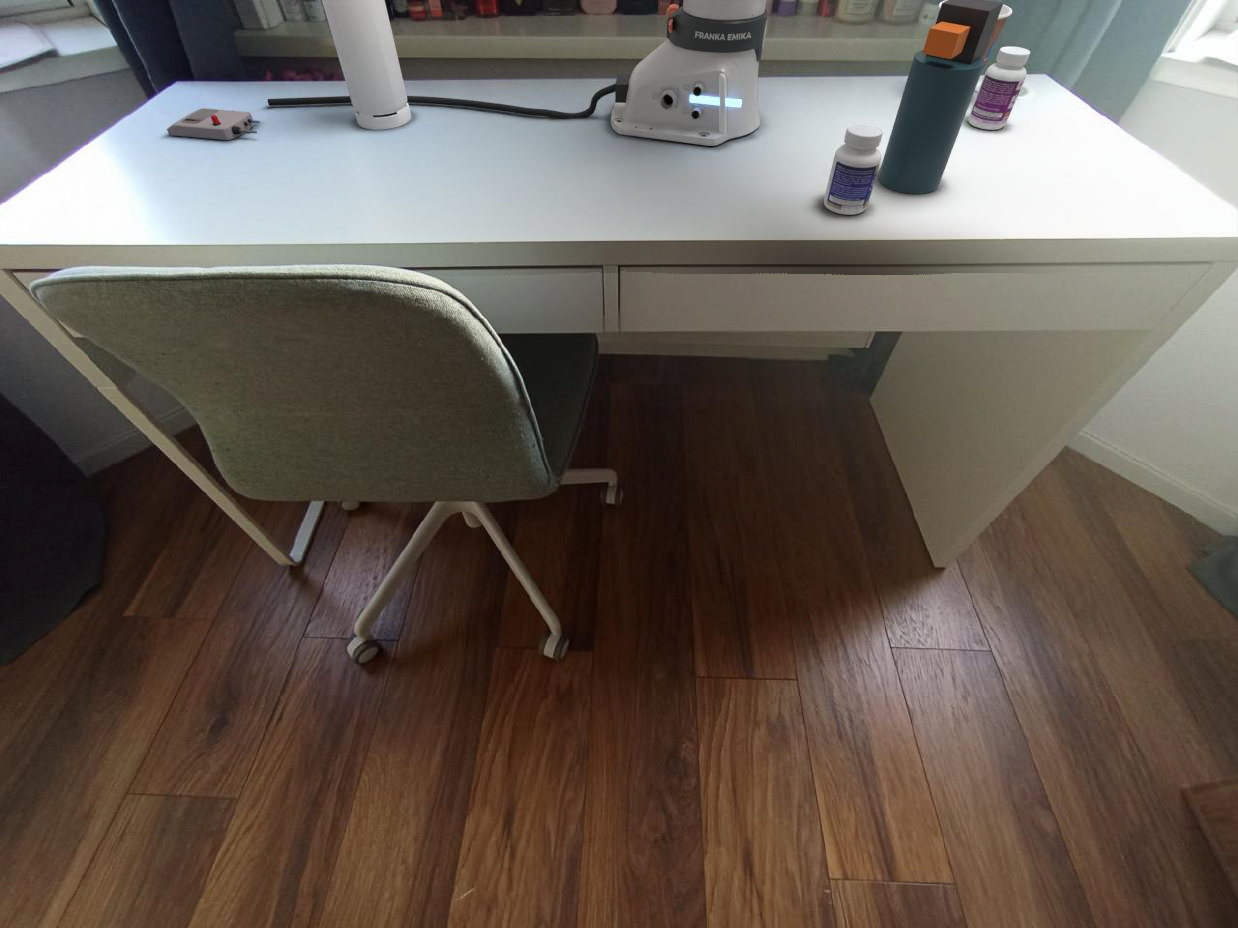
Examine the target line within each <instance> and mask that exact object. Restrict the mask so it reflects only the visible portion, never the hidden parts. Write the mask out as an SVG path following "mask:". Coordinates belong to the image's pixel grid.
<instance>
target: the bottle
mask: <svg viewBox="0 0 1238 928" xmlns="http://www.w3.org/2000/svg"><path fill="white" fill-rule="evenodd" d="M321 3H322V6H323V9H324V13H325V16H326V20H327V22H328V27H329V30H330V33H331V37H332V40H333V43H334V47H335V50H336V53H337V57H338V60H339V61H338V62H339V64H340V67H341V71H342V74H343V78H344V81H345V84H346V89H347V91H348V94H349V95H348V96H350V98H351V102H352V103H351V105H352V107H353V112H354V115H355V119H356V122H357V124H358V126H360V127H361V128H364V129H366V130H374V131H376V130H378V131H380V130H391V129H396V128H398V127H402V126H404V125H406V124H408V123H409V122H410V121H411V120H412V113H411V108H410V105H409V103H407V96H408V94H407V91H406V88H405V87H406V86H405V81H404V78H403V73H402V69H401V66H400V60H399V57H398V52H397V47H396V44H395V39H394V34H393V31H392V25H391V22H390V17H389V13H388V8H387V5H386V0H321ZM395 113H396V114H395ZM390 114H392V115H390ZM383 115H387V116H383ZM374 116H375V117H374Z"/></svg>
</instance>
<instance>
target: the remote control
mask: <svg viewBox="0 0 1238 928" xmlns="http://www.w3.org/2000/svg"><path fill="white" fill-rule="evenodd" d="M255 123H256V124H260V123H261V122H260V120H255V119H253V115H252V114H251V112H250V111H239V110H227V109H218V108H216V109H215V108H204V107H202V108H198V109H195V110H194V111H193V112H191V113H189V114H187V115H185V116H183V117H182V118H180V119H178V120H177V121H175V122H174V123H172V124H171V125H170V126H169V127H167V128H166V131H167V133H168V135H169V136H174V137H176V136H177V137H187V138H188V137H189V138H198V139H211V140H221V141H232V140H234V139H236V138H238V137H240V136H241V135H243V134H258V131H257V130H250V129H252V128H253V127H254V126H255Z"/></svg>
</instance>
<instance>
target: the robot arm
mask: <svg viewBox="0 0 1238 928" xmlns="http://www.w3.org/2000/svg"><path fill="white" fill-rule="evenodd" d="M766 4H767V0H682V6H680V5H678V4H676V3H672V4H670V5H668V8H667V9H666V13H665V19H666V39H665V41H664V42H662V43H661V44H660V45H659V46H657V47H656V48H655V49H654V50H653V51H651V52H650V53H649V54H648V55H647V56H646V57H644V58H643V59H642V60H640V61H639V62H638V64H637V65H635V67H634V69H633V70H632V72H631V74H627V73H626V74H625V73H623V74H622V73H618V74H617V75H616V79H615V83H613V84H611V85H608V86H605V87H603V88H601V89H599V90H598V91H596V92H595V93H594V94H593V95H592V97H591V100H590V104H589V106H588V108H587V109H585V110H583V111H580V112H564V111H557V110H552V109H545V108H533V107H524V106H517V105H511V104H503V103H496V102H488V101H481V100H480V101H479V100H473V99H463V98H452V97H441V96H440V97H438V96H423V95H407V103H408V104H423V105H425V104H426V105H427V104H428V105H441V106H452V107H463V108H464V107H465V108H474V109H480V110H481V109H482V110H489V111H498V112H506V113H511V114H517V115H523V116H533V117H546V118H552V119H557V120H559V119H560V120H571V119H572V120H573V119H586V118H589V117H591V116H592V115H594V113H595V111H596V110H597V105H598V102H599V100H601V98H604V97H605V96H608V95H610V94H613V93H614V97H615V98H614V99H615V101H614V103H615V104H614V105H613V107H612V110H611V114H610V115H611V116H610V126H611V128H612V130H614V131H615V133H617V134H619V135H622V136H623V135H624V136H631V137H639V138H647V139H654V140H662V141H670V142H678V143H685V144H693V145H699V146H708V147H714V146H718V145H720V144H723V143H725V142H726V141H728V140H732V139H736V138H740V137H744V136H746V135H749V134H751V133H753V132H754V131H756V130H757V129H758V128H760V124H761V118H760V109H759V68H760V67H759V66H760V61H761V59H762V54H763V53H764V47H765V41H766V34H767V27H768V11H767V9H766ZM267 104H268V106H269V107H278V106H279V107H280V106H281V107H282V106H283V107H284V106H307V105H308V106H309V105H311V106H312V105H335V104H336V105H337V104H352V102H351V98H350V95H340V96H339V95H338V96H337V95H336V96H311V97H309V96H308V97H307V96H306V97H285V98H284V97H283V98H281V97H279V98H267Z"/></svg>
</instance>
